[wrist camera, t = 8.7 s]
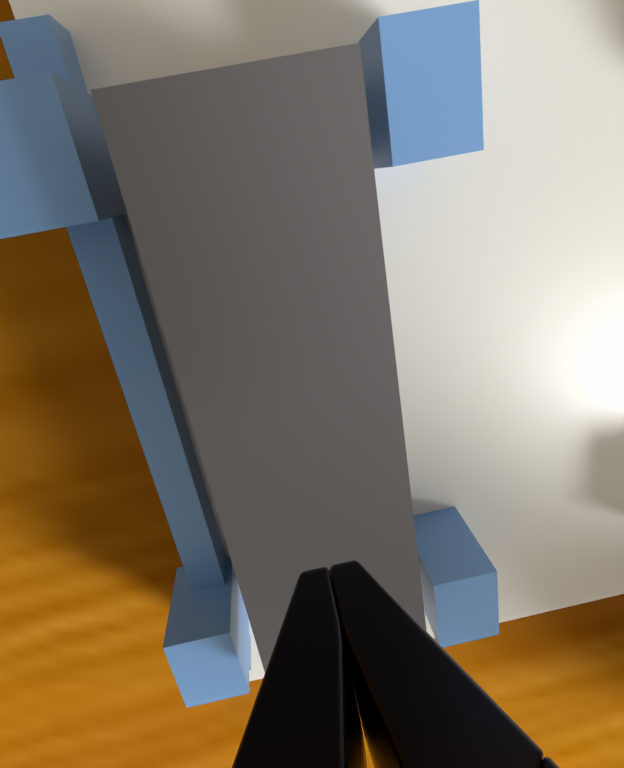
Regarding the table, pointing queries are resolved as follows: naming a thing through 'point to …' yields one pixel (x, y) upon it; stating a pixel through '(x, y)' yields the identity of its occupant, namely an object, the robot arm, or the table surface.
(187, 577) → the board
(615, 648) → the table surface
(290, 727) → the robot arm
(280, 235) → the long grey block
